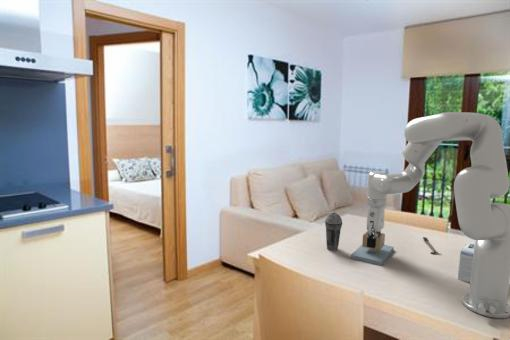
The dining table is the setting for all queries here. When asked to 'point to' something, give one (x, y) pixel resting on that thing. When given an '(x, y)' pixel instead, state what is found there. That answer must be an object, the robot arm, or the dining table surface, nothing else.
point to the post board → (372, 254)
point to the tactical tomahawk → (431, 246)
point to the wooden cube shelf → (378, 243)
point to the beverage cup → (333, 230)
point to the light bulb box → (466, 262)
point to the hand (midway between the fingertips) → (373, 244)
